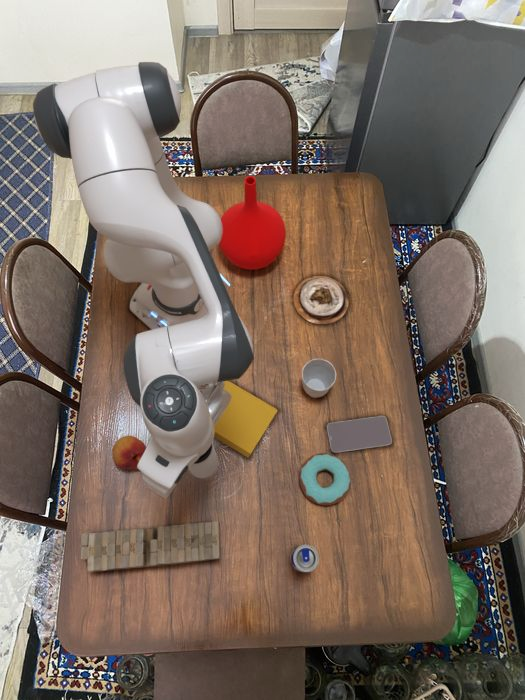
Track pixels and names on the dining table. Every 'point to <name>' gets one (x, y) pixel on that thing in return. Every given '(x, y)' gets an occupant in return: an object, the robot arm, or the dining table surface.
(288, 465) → the dining table surface
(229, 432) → the yellow box
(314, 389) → the cup
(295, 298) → the cake on gold board
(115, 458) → the fruit
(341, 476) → the donut
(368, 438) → the smartphone
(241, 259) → the vase
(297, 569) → the beverage can
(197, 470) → the travel mug
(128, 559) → the block tower
